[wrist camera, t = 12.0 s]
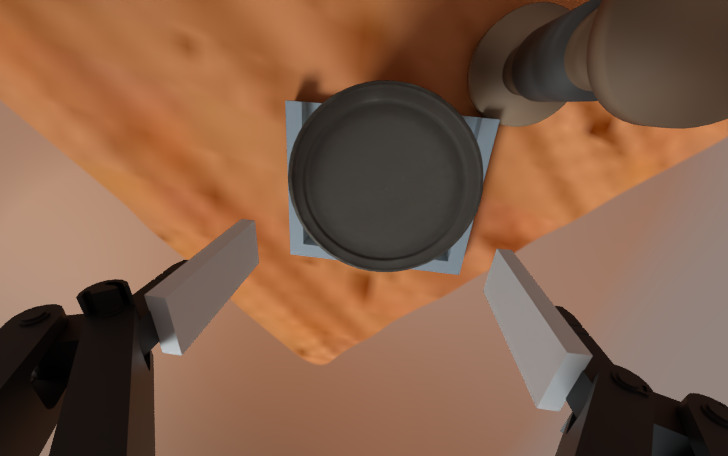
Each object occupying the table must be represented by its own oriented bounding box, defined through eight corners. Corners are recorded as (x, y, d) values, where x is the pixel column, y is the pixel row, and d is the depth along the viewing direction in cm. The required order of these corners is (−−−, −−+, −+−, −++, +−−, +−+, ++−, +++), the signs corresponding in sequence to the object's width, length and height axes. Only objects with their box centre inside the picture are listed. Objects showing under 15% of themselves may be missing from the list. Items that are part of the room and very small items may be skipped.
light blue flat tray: (294, 100, 27) (285, 100, 25) (490, 118, 26) (499, 119, 24) (297, 244, 34) (290, 254, 32) (454, 263, 33) (459, 274, 31)
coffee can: (384, 65, 25) (373, 23, 12) (464, 145, 27) (529, 184, 14) (316, 154, 28) (251, 195, 16) (390, 218, 30) (387, 302, 18)
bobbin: (481, 4, 23) (651, -192, 8) (594, 12, 22) (1019, -183, 7) (457, 120, 27) (540, 143, 11) (554, 129, 26) (777, 165, 11)
